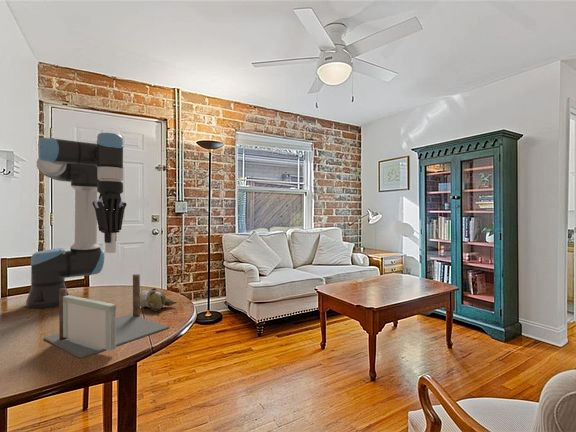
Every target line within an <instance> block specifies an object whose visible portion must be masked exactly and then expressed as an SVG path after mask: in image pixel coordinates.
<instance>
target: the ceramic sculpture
mask: <svg viewBox="0 0 576 432" xmlns="http://www.w3.org/2000/svg"><path fill="white" fill-rule="evenodd" d="M177 303H178V301H173V300H172V299H171V298H169V297H166V295H165V293H164V292H163V291H161V290H157V288H155V287H154V288H151V289H149V290H146V289H142V288H141V289H140V308H144V309H145V308H150V310H152V311H155V312H157V311H160V310H161V308H163V307H164V306H167V307H169V306H172V305H176V304H177Z"/></svg>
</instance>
